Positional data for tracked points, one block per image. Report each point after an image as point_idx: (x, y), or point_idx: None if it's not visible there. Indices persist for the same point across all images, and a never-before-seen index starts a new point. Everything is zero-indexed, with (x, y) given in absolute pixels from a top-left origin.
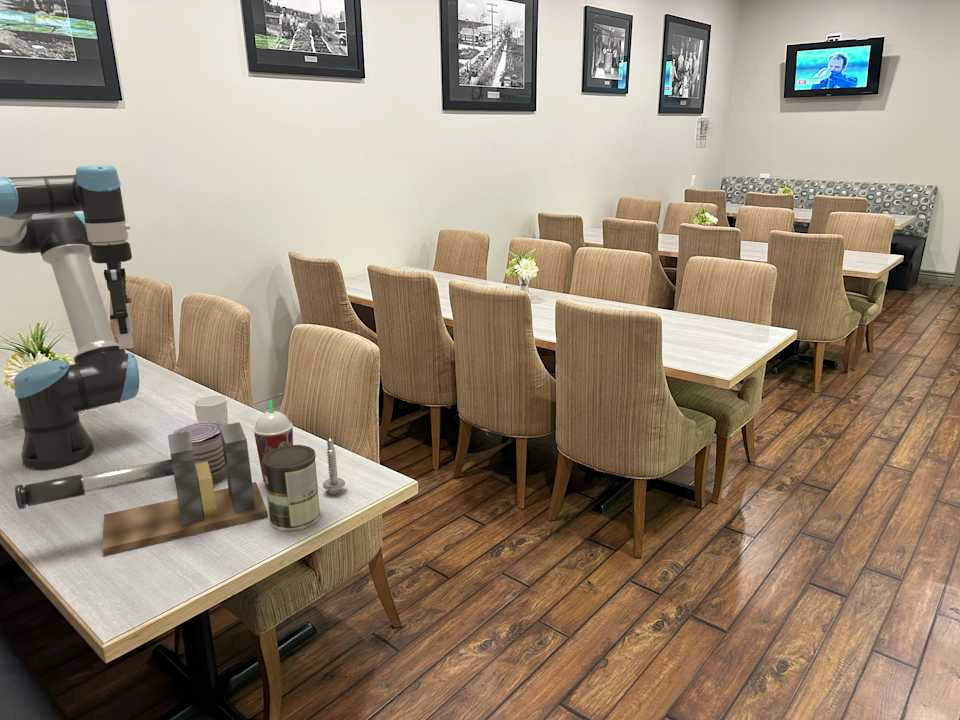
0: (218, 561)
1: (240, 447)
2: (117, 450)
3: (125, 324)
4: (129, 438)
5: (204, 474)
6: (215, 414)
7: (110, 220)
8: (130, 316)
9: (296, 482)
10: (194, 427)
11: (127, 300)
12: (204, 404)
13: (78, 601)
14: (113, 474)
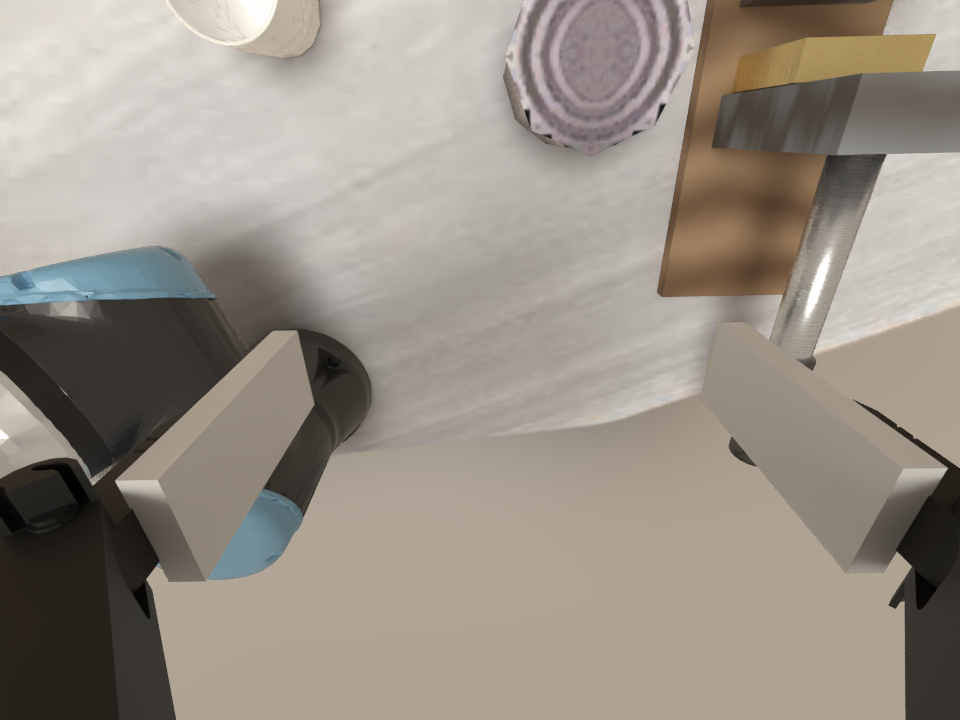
0: None
1: None
2: (311, 282)
3: (936, 457)
4: (240, 257)
5: (893, 57)
6: None
7: None
8: (236, 394)
9: None
10: (551, 59)
11: (64, 515)
12: (188, 5)
13: (898, 317)
14: (831, 300)
